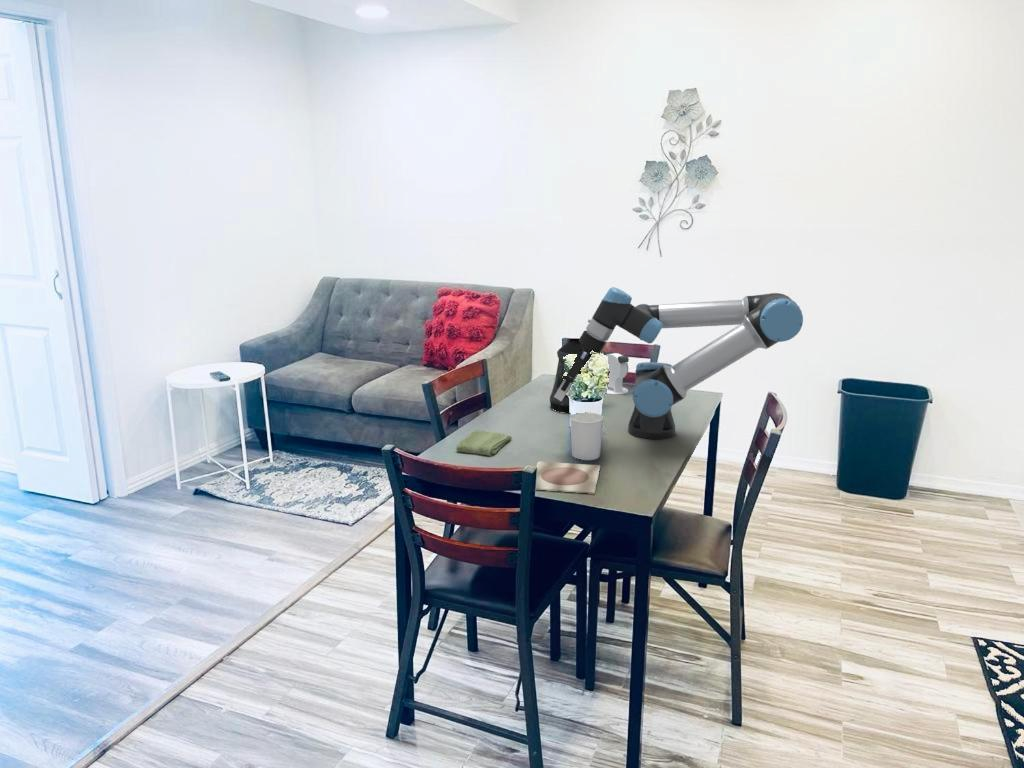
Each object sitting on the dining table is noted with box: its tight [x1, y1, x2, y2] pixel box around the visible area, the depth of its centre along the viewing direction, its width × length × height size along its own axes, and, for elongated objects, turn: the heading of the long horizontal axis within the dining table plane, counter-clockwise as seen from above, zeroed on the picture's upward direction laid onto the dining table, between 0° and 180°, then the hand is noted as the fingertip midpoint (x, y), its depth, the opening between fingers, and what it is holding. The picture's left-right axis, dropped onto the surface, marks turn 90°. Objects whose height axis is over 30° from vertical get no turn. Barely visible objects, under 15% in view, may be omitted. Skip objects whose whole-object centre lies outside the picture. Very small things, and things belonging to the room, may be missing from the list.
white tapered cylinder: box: [569, 412, 604, 461], centre depth 224 cm, size 10×10×12 cm
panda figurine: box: [603, 350, 630, 396], centre depth 294 cm, size 12×11×15 cm
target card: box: [535, 461, 601, 495], centre depth 208 cm, size 18×20×1 cm
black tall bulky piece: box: [549, 337, 601, 414], centre depth 272 cm, size 16×19×25 cm
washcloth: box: [455, 429, 512, 457], centre depth 234 cm, size 13×18×3 cm
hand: (560, 394), depth 234 cm, fingers open, 13 cm apart
